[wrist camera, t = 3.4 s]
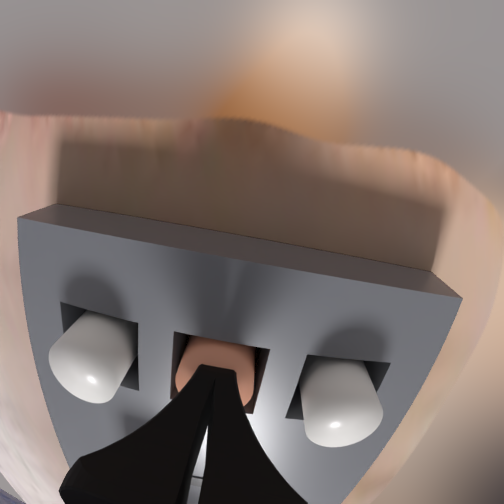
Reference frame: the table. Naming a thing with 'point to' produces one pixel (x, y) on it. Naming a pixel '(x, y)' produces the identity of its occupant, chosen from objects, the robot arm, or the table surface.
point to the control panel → (228, 329)
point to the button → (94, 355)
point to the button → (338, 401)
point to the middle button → (219, 362)
